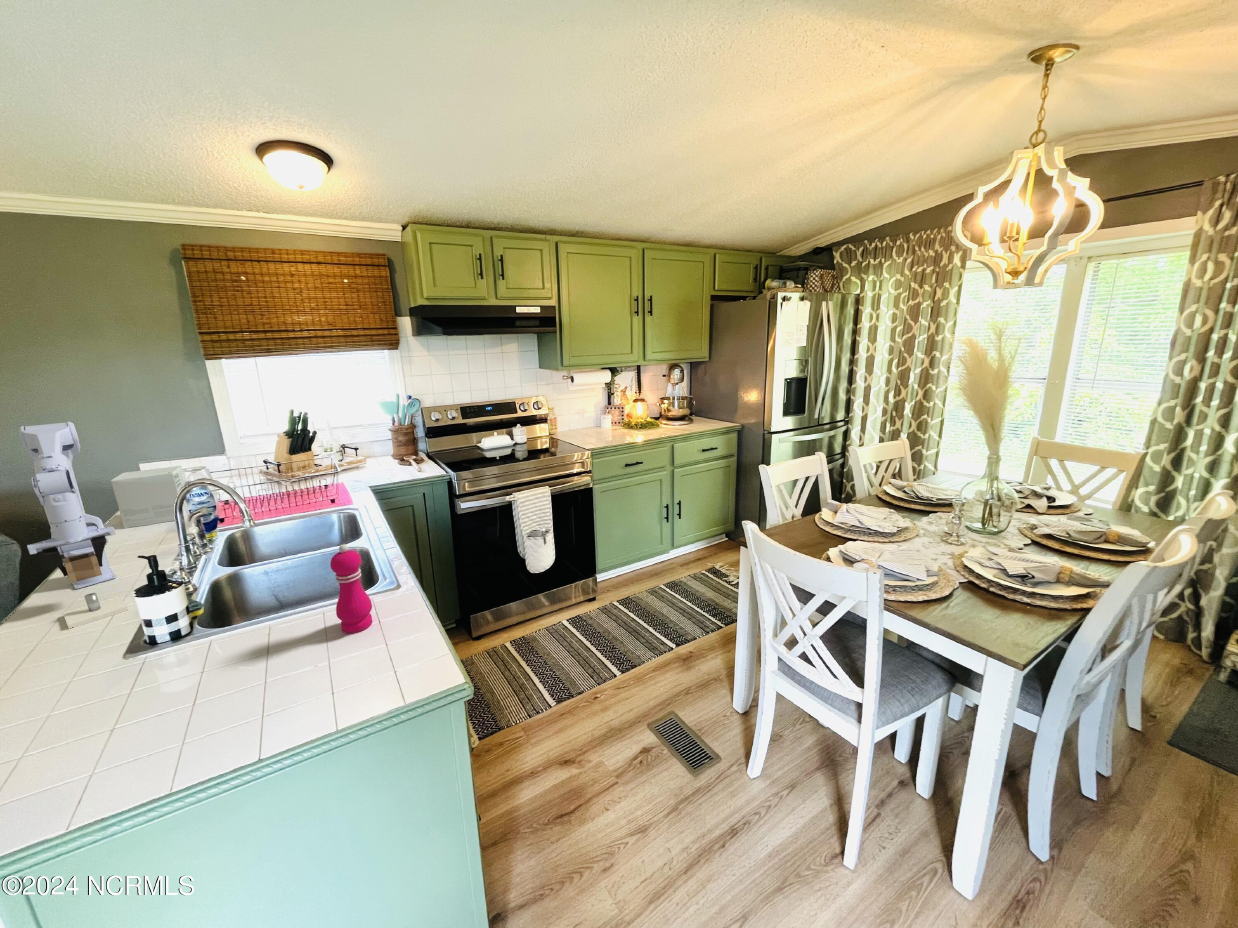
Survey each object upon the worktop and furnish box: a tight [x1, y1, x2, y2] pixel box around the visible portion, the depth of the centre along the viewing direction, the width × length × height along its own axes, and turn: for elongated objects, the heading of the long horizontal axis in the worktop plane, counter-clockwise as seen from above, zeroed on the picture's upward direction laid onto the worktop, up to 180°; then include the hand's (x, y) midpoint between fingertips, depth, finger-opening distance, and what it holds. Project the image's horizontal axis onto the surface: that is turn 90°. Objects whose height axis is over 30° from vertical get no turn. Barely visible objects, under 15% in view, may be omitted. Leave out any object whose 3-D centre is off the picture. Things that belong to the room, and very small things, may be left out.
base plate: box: [62, 592, 129, 630], centre depth 120 cm, size 9×10×5 cm
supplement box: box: [109, 465, 186, 529], centre depth 183 cm, size 17×13×18 cm
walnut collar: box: [61, 551, 102, 584], centre depth 124 cm, size 5×5×5 cm
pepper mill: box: [330, 544, 373, 634], centre depth 111 cm, size 7×7×20 cm
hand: (83, 570), depth 124 cm, fingers closed on walnut collar, 5 cm apart
